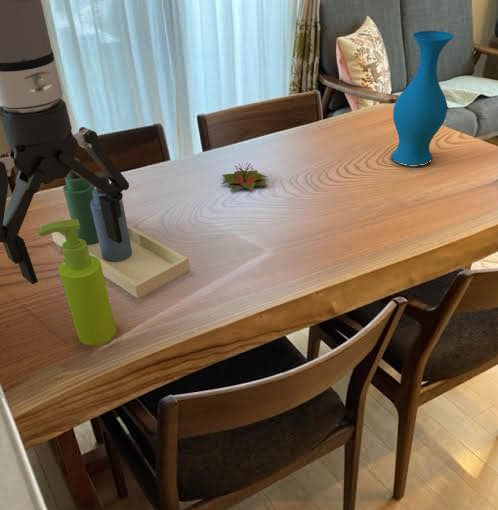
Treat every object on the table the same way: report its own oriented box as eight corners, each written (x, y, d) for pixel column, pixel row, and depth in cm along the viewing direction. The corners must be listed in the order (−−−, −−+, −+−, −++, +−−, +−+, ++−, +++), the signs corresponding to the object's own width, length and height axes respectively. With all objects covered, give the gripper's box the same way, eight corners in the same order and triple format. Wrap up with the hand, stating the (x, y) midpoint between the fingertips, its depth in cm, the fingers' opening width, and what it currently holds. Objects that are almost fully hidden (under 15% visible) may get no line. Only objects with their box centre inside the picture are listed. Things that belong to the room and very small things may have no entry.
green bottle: (71, 238, 107) (50, 161, 97) (95, 227, 110) (77, 151, 100) (86, 248, 104) (66, 169, 94) (110, 237, 107) (94, 159, 97)
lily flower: (261, 169, 132) (261, 151, 129) (277, 189, 123) (277, 170, 120) (213, 176, 129) (212, 157, 126) (226, 197, 120) (225, 178, 117)
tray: (54, 244, 107) (50, 230, 105) (103, 222, 113) (100, 209, 111) (138, 301, 91) (135, 286, 90) (190, 272, 98) (188, 258, 96)
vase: (378, 163, 133) (395, 38, 115) (397, 146, 141) (416, 27, 123) (426, 174, 128) (451, 44, 110) (443, 155, 136) (469, 32, 118)
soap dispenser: (70, 329, 86) (36, 217, 73) (114, 320, 88) (88, 209, 75) (73, 352, 82) (37, 238, 69) (119, 342, 83) (92, 229, 71)
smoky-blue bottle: (96, 254, 102) (77, 175, 92) (120, 243, 105) (105, 165, 95) (113, 265, 99) (95, 184, 89) (138, 253, 102) (123, 173, 92)
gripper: (-66, 142, 53) (3, 310, 67) (138, 83, 67) (161, 233, 80) (-94, 125, 57) (-23, 286, 71) (103, 73, 71) (131, 217, 84)
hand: (75, 258), depth 76 cm, fingers open, 13 cm apart
